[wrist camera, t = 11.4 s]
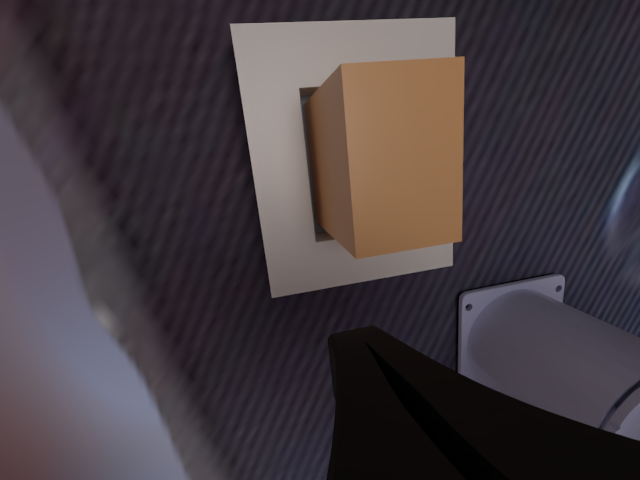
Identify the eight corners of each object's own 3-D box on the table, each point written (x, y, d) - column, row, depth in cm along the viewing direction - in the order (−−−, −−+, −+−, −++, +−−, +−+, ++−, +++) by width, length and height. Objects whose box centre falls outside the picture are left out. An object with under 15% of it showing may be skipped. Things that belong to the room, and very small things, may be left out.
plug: (384, 211, 18) (461, 241, 11) (316, 221, 17) (356, 259, 11) (378, 98, 16) (464, 56, 10) (303, 104, 16) (340, 63, 9)
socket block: (428, 253, 20) (452, 265, 18) (269, 280, 18) (272, 297, 16) (426, 37, 17) (455, 17, 14) (233, 45, 15) (229, 23, 13)
